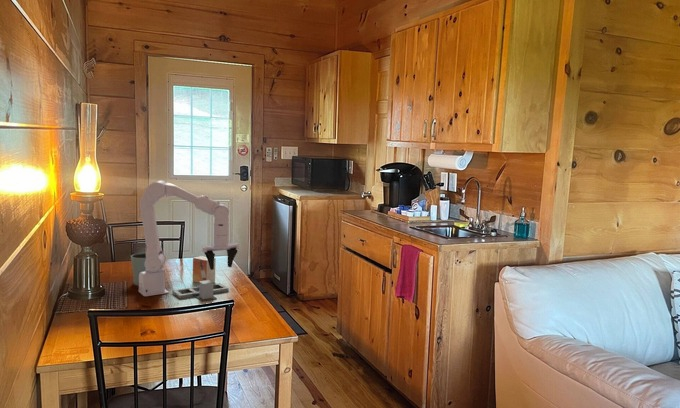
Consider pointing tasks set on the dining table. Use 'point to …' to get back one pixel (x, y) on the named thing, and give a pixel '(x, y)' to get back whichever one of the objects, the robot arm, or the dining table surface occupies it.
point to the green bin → (138, 265)
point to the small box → (202, 269)
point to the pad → (205, 299)
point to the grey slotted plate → (193, 290)
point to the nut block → (206, 289)
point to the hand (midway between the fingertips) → (220, 267)
